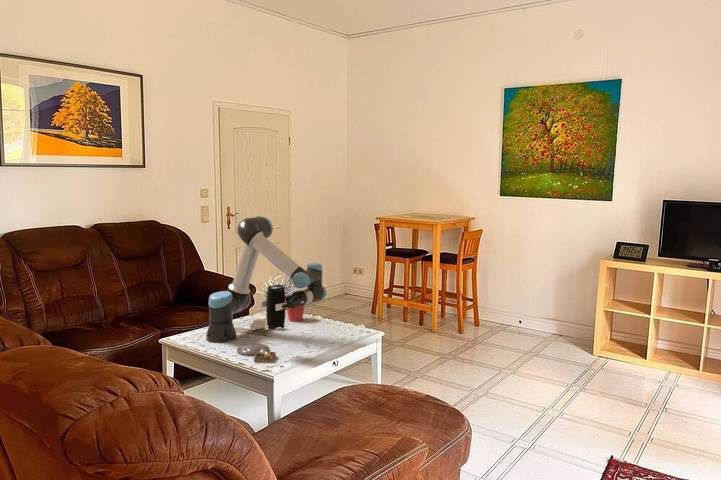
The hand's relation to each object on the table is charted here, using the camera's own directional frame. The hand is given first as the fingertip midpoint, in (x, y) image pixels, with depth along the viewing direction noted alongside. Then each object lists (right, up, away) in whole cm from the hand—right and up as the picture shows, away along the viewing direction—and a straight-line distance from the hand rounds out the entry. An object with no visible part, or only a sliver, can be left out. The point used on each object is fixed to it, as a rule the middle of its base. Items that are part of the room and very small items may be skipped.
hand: (268, 306), depth 252 cm
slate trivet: (-10, -23, +12) cm, 27 cm away
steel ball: (-3, -22, +1) cm, 22 cm away
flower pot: (+4, -17, +68) cm, 70 cm away
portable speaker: (+3, -11, +5) cm, 12 cm away
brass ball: (0, -22, -2) cm, 22 cm away
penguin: (-11, -19, +50) cm, 54 cm away
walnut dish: (-2, -24, 0) cm, 24 cm away
